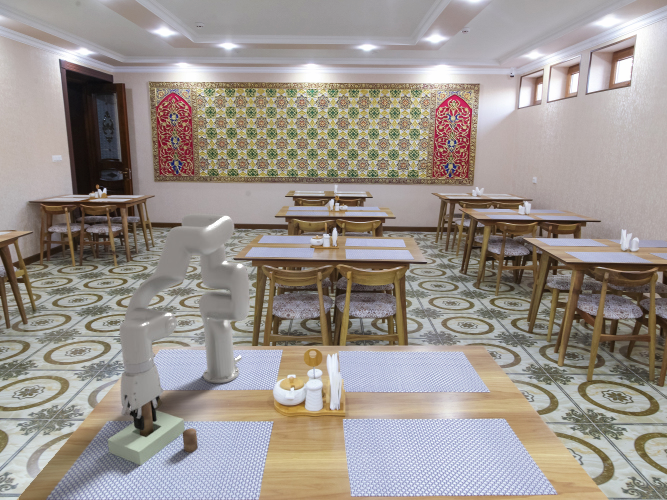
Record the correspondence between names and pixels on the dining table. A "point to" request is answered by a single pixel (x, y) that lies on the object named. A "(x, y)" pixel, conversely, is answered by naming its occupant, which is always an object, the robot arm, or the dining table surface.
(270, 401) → the dining table surface
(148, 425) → the long peg
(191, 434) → the short peg
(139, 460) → the hole block
